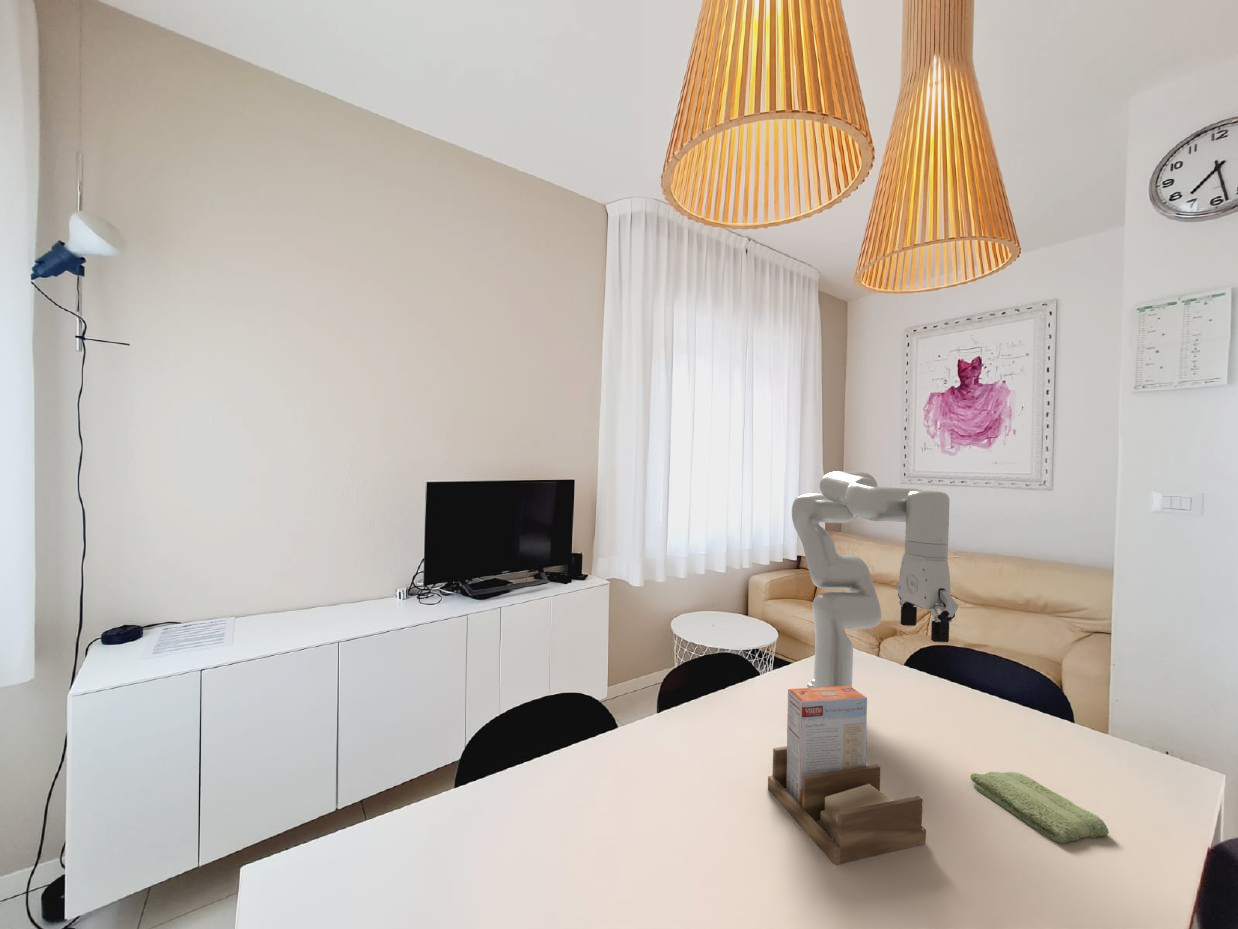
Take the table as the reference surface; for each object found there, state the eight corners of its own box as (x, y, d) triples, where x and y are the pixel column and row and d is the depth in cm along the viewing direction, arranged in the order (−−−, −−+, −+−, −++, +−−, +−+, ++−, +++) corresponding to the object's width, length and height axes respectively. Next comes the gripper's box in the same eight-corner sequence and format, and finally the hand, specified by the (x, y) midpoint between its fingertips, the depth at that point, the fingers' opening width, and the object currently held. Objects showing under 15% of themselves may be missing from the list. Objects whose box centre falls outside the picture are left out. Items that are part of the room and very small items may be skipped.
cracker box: (846, 785, 99) (849, 683, 99) (866, 805, 93) (869, 697, 94) (783, 790, 97) (787, 686, 97) (799, 812, 91) (803, 701, 91)
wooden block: (819, 826, 88) (820, 793, 88) (871, 814, 91) (872, 783, 91) (845, 854, 81) (847, 819, 81) (901, 840, 85) (902, 806, 85)
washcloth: (1014, 778, 104) (1014, 763, 105) (1113, 840, 87) (1114, 822, 87) (965, 785, 102) (965, 769, 102) (1057, 850, 84) (1058, 832, 84)
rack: (767, 788, 97) (769, 749, 97) (845, 775, 103) (846, 737, 103) (834, 865, 79) (836, 816, 79) (925, 843, 84) (927, 798, 84)
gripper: (883, 543, 108) (881, 619, 108) (937, 557, 91) (934, 648, 91) (916, 544, 108) (914, 620, 108) (975, 558, 91) (973, 649, 91)
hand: (923, 633), depth 100 cm, fingers open, 9 cm apart
